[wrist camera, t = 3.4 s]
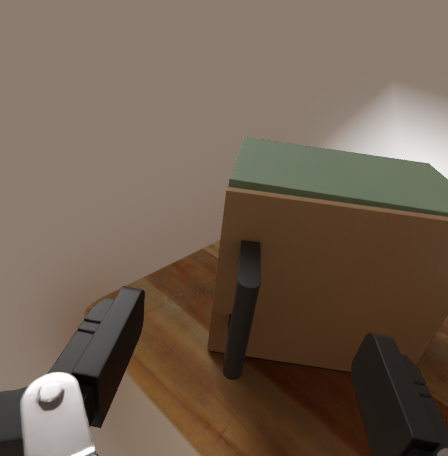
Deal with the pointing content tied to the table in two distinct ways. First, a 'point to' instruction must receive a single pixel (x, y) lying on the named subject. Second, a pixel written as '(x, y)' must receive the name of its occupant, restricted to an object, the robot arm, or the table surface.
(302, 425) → the table surface
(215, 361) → the table surface
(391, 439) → the robot arm
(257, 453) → the table surface
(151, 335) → the table surface
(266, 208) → the cupboard door
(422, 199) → the cupboard
